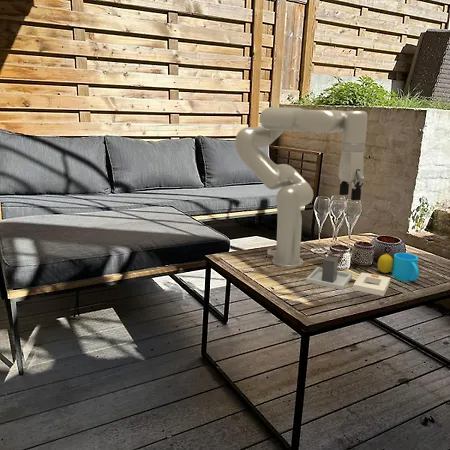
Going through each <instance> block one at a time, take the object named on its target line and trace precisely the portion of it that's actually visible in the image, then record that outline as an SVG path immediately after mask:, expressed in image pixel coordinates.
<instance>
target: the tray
mask: <svg viewBox="0 0 450 450" xmlns="http://www.w3.org/2000/svg"><path fill="white" fill-rule="evenodd" d="M322 271H323V267H319V266H317V267H316V268H314V270H313V271H312V272H311V273H310V274H309V275H308V276H307V277H306V278H305V282H306V283H309V284H311V285H313V284H314V285H318V286H321V287H326V288H331V289H332V288H333V289H335V290H341V291H343V290H344V289H345V288H346V286H347V285H348V283H349V282H350V281H351V279H352V278H353V274H352V273H351V272H345V271H341V270H337V279H336V280H335V281H334V282H333V283H330V282H325V281H322Z"/></svg>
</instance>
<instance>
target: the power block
mask: <svg viewBox="0 0 450 450" xmlns="http://www.w3.org/2000/svg"><path fill="white" fill-rule="evenodd" d="M391 280H392V279H391V277H387V276H383V275H380V274H375V273H368V272H361V273H360V274H359V276H358V277H357V279H356V280H355V281H354V283H353V286H352V290H353V291H356V292H357V291H358V292H362V293H365V294H370V295H376V296H381V297H384V296H385V294H386V293H387V290H388V288H389V286H390V283H391Z"/></svg>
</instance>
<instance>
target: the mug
mask: <svg viewBox="0 0 450 450" xmlns="http://www.w3.org/2000/svg"><path fill="white" fill-rule="evenodd" d="M418 263H419V256H417V255H415V254H412V253H409V252H408V253H407V252H396V253H394V255H393V268H392V270H391V271H392V272H391V275H392V276H393V277H394V279H395V280H397V281H398V280H399V281H402V282H414V281H416V280H417V279H418V278H419V276H420V272H419V271H420V270H419V267H418Z"/></svg>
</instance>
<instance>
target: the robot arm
mask: <svg viewBox="0 0 450 450" xmlns="http://www.w3.org/2000/svg"><path fill="white" fill-rule="evenodd" d="M259 123H260V125H261V126H247V127H243V128H242V129H241V130H239V131H238V132H237V134H236V136H235V143H234V145H235V150H236V153H237V155H238V156H239V158H240V159H241V161H243V162H244V164H245V165H246V166H247V167H248V168H249V169H250V170H251V171H252V172H253V173H254V175H255V176H256V177H257V178H258V179H259V180H260V181H261V183H262V184H263V185H264V187H266V188H267V189H269V190H278V189H279V190H278V192H277V194H276V198H275V203H276V210H277V211H276V212H277V218H276V219H277V220H276V221H277V222H276V223H277V224H276V225H277V227H276V246H275V249H272V248H271V249H270V248H268V249H267V252H266V253H267V256H272V258H271V263H272V264H273V265H275V266H277V267H280V268H281V267H285V268H296V267H300V266H302V265H304V260H303V258H301V257H300V256H301V245H302V244H301V243H302V242H301V241H302V227H303V226H302V225H303V224H302V223H303V217H302V213H301V208H302V207H305V206H307V205H309V204H310V203H312V202H313V199H314V190H313V188H312V186H311V185H310V183H309V182H308V181H307V180H306V179H304V177H303V176H302V175H301V174H300V173H299V172H298V171H297V170H296V169H295V168H294V167H293V166H292V165H289V164H287V163H281V164H280V163H279V164H277V163H275V162H274V161H273V160H272V159H271V158H270V157H269V156H268V154H266V153H265V152H263V151H262V150H260V149H261V148H266V147H268V146H270V145H271V144H273V142H275V141H276V140H277V139H278V138H279V137H280V136H281V135H282V134H283V133H284V132H287V131H288V132H298V133H300V132H301V133H302V132H303V133H316V134H330V133H342V142H341V143H342V144H341V155H340V159H339V160H340V161H339V168H338V179H339V195H340V196H348V195H349V190H350V183H351V185H352V188H351V192H350V200H351V201H360V200H361V197H362V189H363V185H364V180H365V176H364V161H365V159H364V154H365V151H366V139H367V130H368V129H367V127H368V113H367V111H364V110H347V111H345V110H338V109H326V110H325V109H303V108H301V107H283V106H282V107H280V106H279V107H278V106H275V107H274V106H270V107H266V108H264V109H263V110H262V111H261V112H260V114H259ZM259 148H260V149H259Z"/></svg>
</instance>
